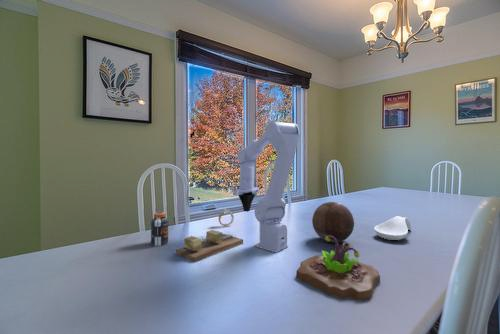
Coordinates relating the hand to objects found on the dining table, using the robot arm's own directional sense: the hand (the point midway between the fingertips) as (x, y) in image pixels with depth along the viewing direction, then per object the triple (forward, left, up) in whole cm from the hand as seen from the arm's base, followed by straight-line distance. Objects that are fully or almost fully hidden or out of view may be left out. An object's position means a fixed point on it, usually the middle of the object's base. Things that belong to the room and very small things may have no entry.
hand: (246, 211), depth 105 cm
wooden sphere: (-31, -14, -10) cm, 35 cm away
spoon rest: (-48, -39, -10) cm, 62 cm away
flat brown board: (-2, +21, -9) cm, 23 cm away
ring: (+14, -2, -10) cm, 17 cm away
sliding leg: (-1, +20, -8) cm, 21 cm away
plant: (-43, +13, -10) cm, 46 cm away
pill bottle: (+16, +30, -10) cm, 35 cm away
